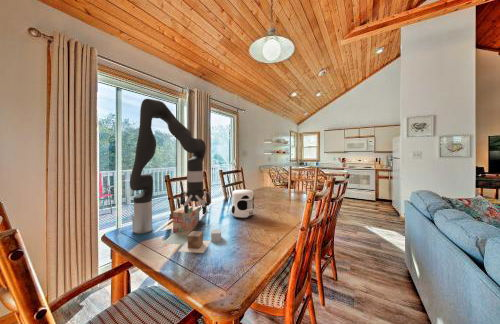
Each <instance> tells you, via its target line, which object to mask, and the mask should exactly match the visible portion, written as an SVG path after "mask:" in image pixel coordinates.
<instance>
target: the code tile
mask: <svg viewBox="0 0 500 324" xmlns="http://www.w3.org/2000/svg"><path fill="white" fill-rule="evenodd" d="M211 243H212V242H211V240H204V239H203V244H202V246H201V247H200V248H199V249H192V248H188V240H187V241H186V242H185V243H184V244H183V246H181V247H180V249H178V252H180V253H181V252H185V253H197V254H198V253H199V254H204V253H205V252H206V250H207V249H208V246H209V245H210V244H211Z"/></svg>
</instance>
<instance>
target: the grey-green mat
mask: <svg viewBox="0 0 500 324" xmlns="http://www.w3.org/2000/svg"><path fill="white" fill-rule="evenodd" d="M188 235H189V234H181V233H180V234H179V233H172V234H170V236H169V237H167V238H166V239H165V240H164V241H163V242H162V244H165V245H167V244H168V245H169V244H170V245H184V244H185V243H186V242H187V241H188Z"/></svg>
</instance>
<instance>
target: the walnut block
mask: <svg viewBox="0 0 500 324" xmlns="http://www.w3.org/2000/svg"><path fill="white" fill-rule="evenodd" d="M187 235H188V240H187V241H188V248H192V249H199V248H200V247H201V246H202V244H203V240H204V231H199V230H198V231H197V230H194V231H193V230H192V231H191V232H190V233H188V234H187Z"/></svg>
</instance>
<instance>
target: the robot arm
mask: <svg viewBox="0 0 500 324" xmlns="http://www.w3.org/2000/svg"><path fill="white" fill-rule="evenodd" d="M171 111H172V110H170V109H169V107H168V106H167V105H166V104H165V103H164V102H163V101H162V100H158V99H152V98H145V99H142V102H141V104H140V111H139V129H138V136H137V141H136V148H135V154H134V155H135V156H134V162H133V167H132V171H131V173H130V178H129V188H130V189H131V190H132V191H133V192H134V191H136V192H137V191H141V192H140V193H138V195H135V196H134V197H133V215H132V217H131V218H132V220H131V221H132V225H131V227H132V233H135V234H139V235H140V234H141V235H142V234H146V233H150V232H151V231H152V230H153V196H154V195H153V192H154V179H153V175H152V174H151V173H145V172H144V173H142V172H143V171H144V168H145V167H146V166H147V165H148V163H150V161H151V160H152V159H153V157H154V156H155V154H156V149H157V139H156V137H155V135H154V132H153V130H152V129H153V128H152V122H153V119H160V120H162V121H163V122H165V123H166V125H167V128H168V132H170V134H171V135H172V136H173V137H174V138H175V139H176V140H177V141H178V142H179V144H180V145H181V147H182V148H183V150H184V151H186V152H187V153H189V154H192V157H190V158H189V159H187V175H186V176H187V177H186V179H187V180H186V190H187V191H181V192H180V196H179V197H180V198H179V202H180V203H179V204H180V205H181V206H184V212H185V214H187V213H188V212H189V206H190V205H189V204H190V203H191V202H196V203H197V202H199V203H200V204H201V206H202V215H206V213H207V210H208V209H207V207H209V206H210V205H211V203H212V202H211V192H209V191H208V192H204V179H205V178H204V164H203V163H204V159H205V155H206V149H207V146H206V142H205V141H204V140H203V139H202V138H195V137H192V133H191V131H190V130H189V128H187V127H186V126H185V125H184V124H182V122H180V121H179V119H177V118H176V116H175V114H173V113H172V112H171ZM186 197H187V199H186ZM204 197H205V198H204ZM205 199H206V200H205ZM185 200H186V201H185Z"/></svg>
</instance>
